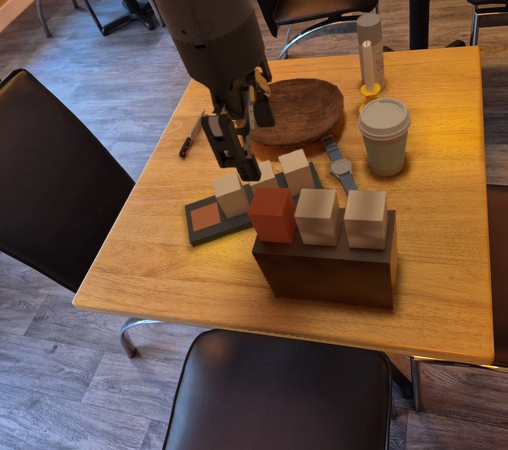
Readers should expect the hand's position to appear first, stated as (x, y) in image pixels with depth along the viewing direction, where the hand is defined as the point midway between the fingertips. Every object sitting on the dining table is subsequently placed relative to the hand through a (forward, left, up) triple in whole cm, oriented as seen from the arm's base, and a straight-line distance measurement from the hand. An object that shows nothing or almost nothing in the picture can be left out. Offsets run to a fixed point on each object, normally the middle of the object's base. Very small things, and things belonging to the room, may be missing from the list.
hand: (260, 151), depth 50 cm
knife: (+41, +13, -26) cm, 50 cm away
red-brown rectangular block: (-1, +1, -13) cm, 13 cm away
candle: (+30, -23, -26) cm, 46 cm away
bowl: (+33, -7, -26) cm, 42 cm away
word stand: (-4, -4, -26) cm, 27 cm away
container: (+37, -26, -26) cm, 52 cm away
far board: (+16, +5, -26) cm, 31 cm away
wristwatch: (+17, -12, -26) cm, 33 cm away
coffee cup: (+15, -20, -26) cm, 36 cm away
